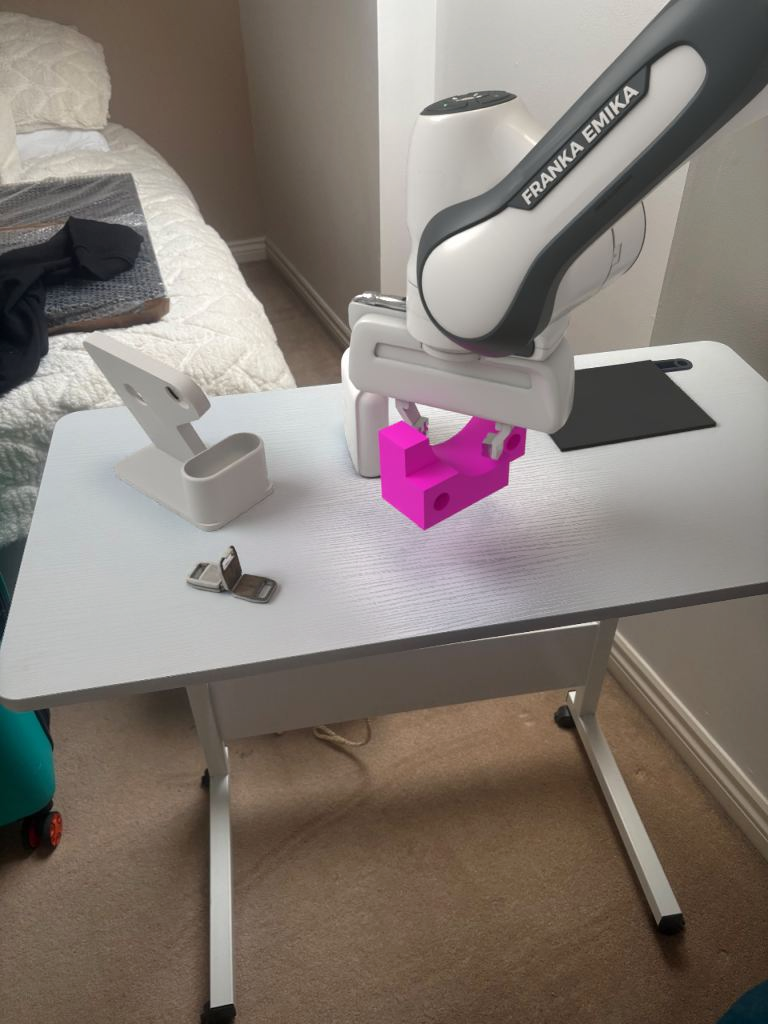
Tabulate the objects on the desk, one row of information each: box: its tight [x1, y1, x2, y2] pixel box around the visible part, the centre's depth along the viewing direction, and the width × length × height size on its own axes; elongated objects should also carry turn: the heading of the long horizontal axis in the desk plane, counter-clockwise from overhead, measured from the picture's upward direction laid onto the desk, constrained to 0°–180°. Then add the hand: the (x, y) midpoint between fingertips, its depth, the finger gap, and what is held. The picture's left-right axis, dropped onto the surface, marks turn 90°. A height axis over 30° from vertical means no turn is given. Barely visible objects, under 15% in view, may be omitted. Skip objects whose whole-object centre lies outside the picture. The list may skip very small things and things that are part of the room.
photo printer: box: [340, 346, 390, 478], centre depth 92 cm, size 10×4×12 cm, turn 11°
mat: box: [548, 359, 717, 453], centre depth 103 cm, size 20×16×1 cm
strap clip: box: [185, 545, 278, 603], centre depth 78 cm, size 8×3×4 cm, turn 72°
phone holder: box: [82, 330, 275, 532], centre depth 86 cm, size 17×10×18 cm, turn 51°
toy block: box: [378, 416, 528, 531], centre depth 77 cm, size 15×6×8 cm, turn 127°
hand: (454, 446), depth 77 cm, fingers closed on toy block, 6 cm apart
